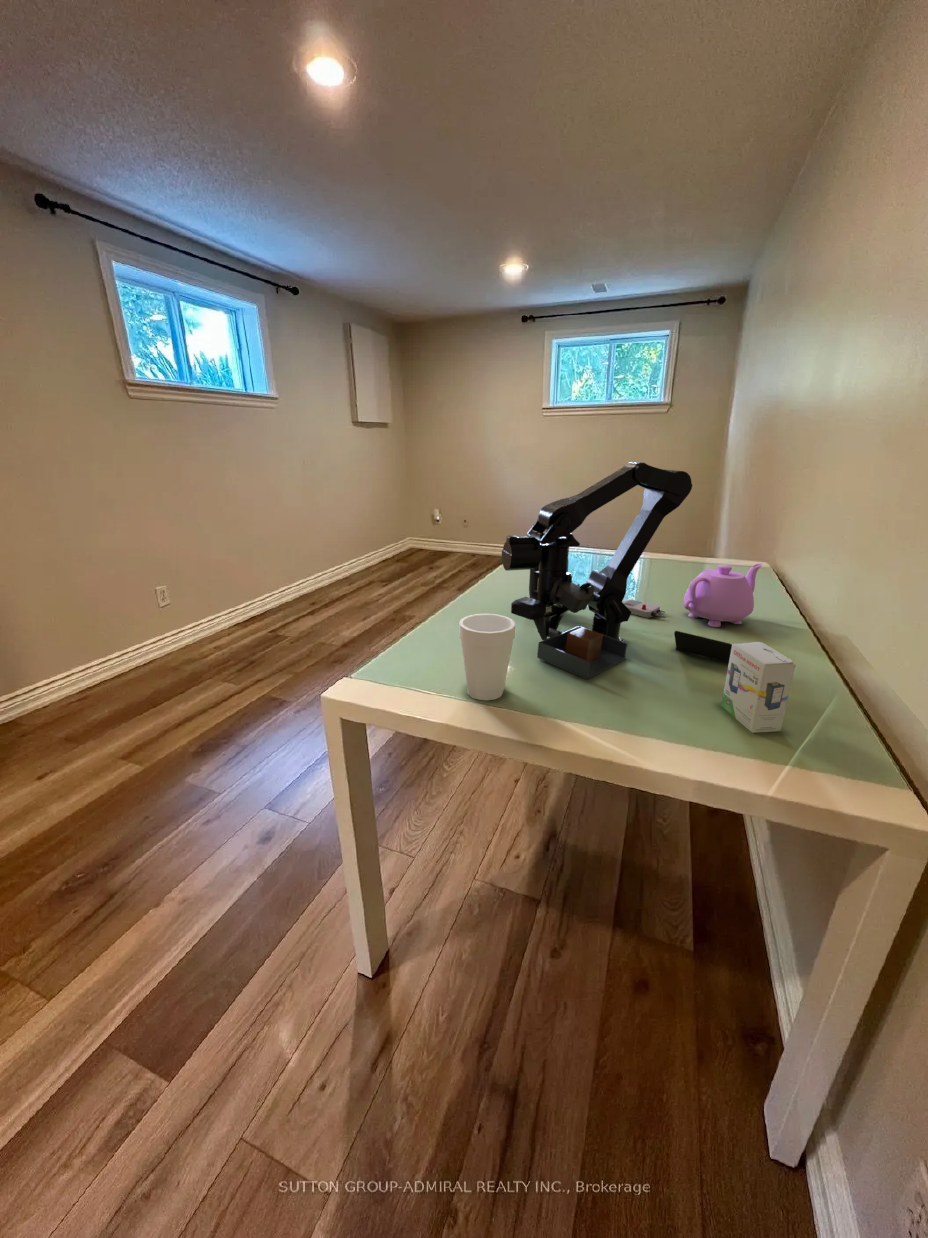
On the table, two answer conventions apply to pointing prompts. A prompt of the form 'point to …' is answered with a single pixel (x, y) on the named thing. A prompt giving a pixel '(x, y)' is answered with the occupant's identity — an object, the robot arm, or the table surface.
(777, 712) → the ink box
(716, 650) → the handheld gaming console
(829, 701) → the table surface
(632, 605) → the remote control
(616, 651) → the tray
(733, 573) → the teapot
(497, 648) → the foam cup
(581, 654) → the block
